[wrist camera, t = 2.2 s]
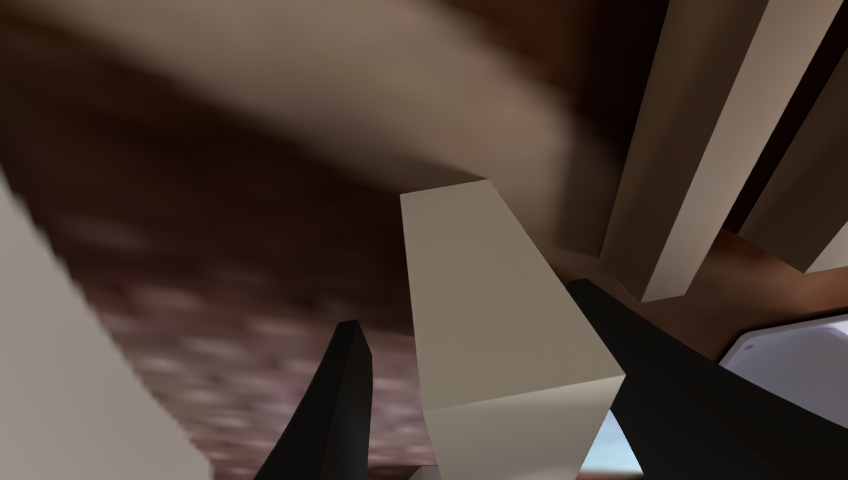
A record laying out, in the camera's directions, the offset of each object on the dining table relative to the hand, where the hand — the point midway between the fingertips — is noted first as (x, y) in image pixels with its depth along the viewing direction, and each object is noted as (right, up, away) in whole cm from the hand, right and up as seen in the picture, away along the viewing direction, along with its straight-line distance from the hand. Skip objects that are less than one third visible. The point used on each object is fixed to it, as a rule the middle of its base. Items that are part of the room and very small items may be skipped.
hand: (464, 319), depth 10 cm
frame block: (0, +1, +2) cm, 2 cm away
